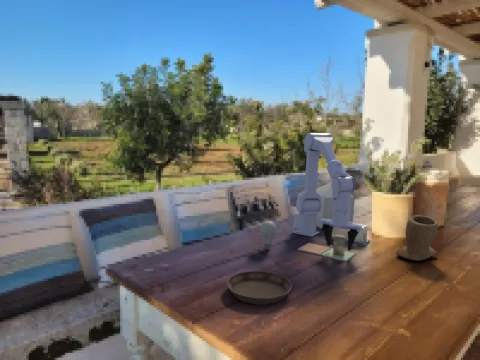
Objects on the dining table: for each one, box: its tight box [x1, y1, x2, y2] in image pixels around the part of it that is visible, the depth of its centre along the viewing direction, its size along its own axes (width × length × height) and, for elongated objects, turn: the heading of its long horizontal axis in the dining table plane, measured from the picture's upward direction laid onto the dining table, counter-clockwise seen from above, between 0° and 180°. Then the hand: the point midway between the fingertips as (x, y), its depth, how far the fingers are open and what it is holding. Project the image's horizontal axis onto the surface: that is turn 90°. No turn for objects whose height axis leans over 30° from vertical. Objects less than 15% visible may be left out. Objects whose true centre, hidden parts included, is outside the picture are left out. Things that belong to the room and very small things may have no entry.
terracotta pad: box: [297, 242, 332, 256], centre depth 135 cm, size 9×9×1 cm
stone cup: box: [395, 214, 439, 262], centre depth 127 cm, size 15×12×15 cm
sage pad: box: [321, 247, 356, 262], centre depth 129 cm, size 9×9×1 cm
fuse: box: [332, 235, 346, 256], centre depth 128 cm, size 4×4×6 cm
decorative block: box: [316, 182, 356, 230], centre depth 170 cm, size 16×16×20 cm
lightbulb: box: [259, 220, 277, 251], centre depth 133 cm, size 6×6×11 cm
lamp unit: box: [324, 222, 371, 247], centre depth 146 cm, size 16×7×7 cm, turn 53°
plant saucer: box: [226, 270, 293, 305], centre depth 99 cm, size 18×18×3 cm
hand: (339, 247), depth 129 cm, fingers open, 7 cm apart
